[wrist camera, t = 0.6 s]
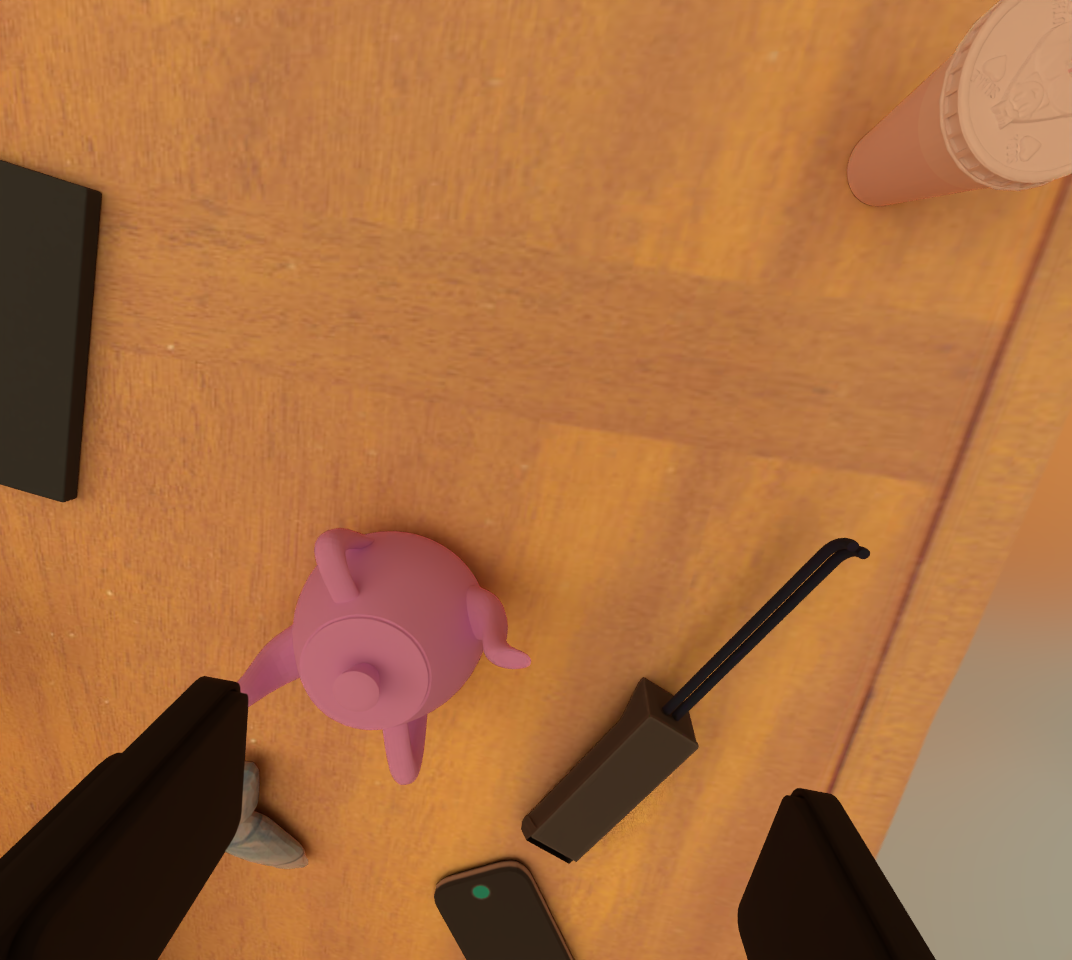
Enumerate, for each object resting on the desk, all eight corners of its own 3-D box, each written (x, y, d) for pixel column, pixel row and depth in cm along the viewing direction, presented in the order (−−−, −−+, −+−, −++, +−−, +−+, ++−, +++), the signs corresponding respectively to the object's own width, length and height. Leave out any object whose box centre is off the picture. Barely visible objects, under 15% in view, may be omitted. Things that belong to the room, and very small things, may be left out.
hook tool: (564, 825, 41) (858, 535, 31) (562, 874, 37) (892, 567, 28) (522, 802, 40) (808, 500, 30) (517, 849, 37) (836, 527, 27)
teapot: (537, 580, 34) (533, 663, 25) (419, 727, 37) (380, 845, 29) (378, 472, 32) (317, 522, 24) (269, 635, 36) (180, 731, 27)
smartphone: (521, 864, 39) (591, 1005, 42) (522, 853, 40) (590, 992, 43) (425, 890, 40) (501, 1026, 43) (428, 879, 40) (502, 1013, 44)
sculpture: (380, 955, 38) (80, 1118, 39) (391, 854, 46) (137, 993, 46) (215, 801, 32) (-138, 995, 33) (258, 712, 40) (-33, 872, 40)
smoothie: (969, 183, 28) (1372, 37, 14) (854, 260, 29) (1126, 192, 15) (916, 65, 26) (1303, -223, 13) (797, 149, 27) (1039, -34, 14)
